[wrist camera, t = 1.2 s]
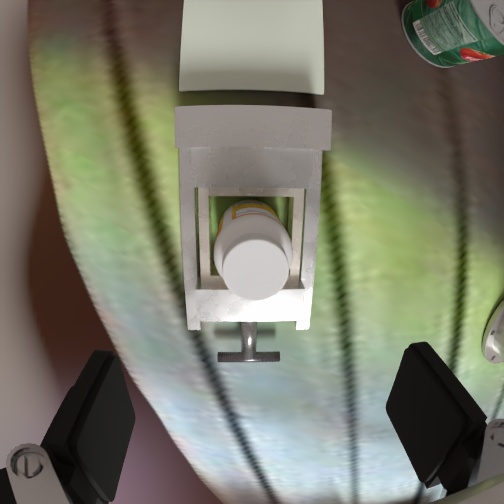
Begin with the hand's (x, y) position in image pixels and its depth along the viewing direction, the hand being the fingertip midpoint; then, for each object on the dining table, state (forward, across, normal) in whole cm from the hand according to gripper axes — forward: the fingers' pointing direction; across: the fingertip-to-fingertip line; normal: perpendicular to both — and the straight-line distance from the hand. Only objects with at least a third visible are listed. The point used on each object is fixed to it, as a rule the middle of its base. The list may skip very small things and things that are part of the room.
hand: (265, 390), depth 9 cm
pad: (+20, 0, -18) cm, 27 cm away
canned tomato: (+20, -18, -21) cm, 34 cm away
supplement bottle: (+20, 0, 0) cm, 20 cm away
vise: (+20, 0, +1) cm, 20 cm away
